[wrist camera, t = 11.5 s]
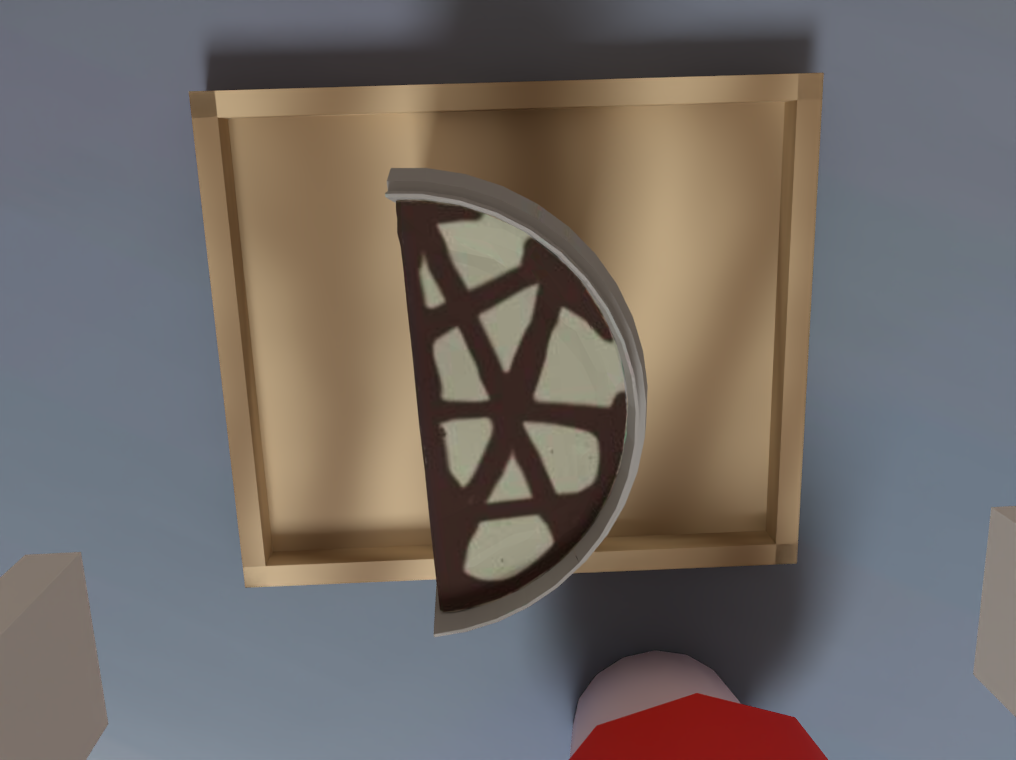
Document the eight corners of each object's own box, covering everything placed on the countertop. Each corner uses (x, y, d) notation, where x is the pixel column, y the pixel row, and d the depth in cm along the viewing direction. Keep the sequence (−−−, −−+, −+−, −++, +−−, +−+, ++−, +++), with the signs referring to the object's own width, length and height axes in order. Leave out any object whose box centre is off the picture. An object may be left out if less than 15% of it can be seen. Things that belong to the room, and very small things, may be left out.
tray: (257, 565, 34) (245, 587, 32) (205, 95, 30) (189, 91, 28) (780, 542, 34) (796, 563, 33) (803, 77, 30) (823, 72, 28)
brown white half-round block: (614, 492, 33) (671, 635, 23) (447, 507, 33) (435, 655, 23) (596, 148, 30) (653, 147, 20) (412, 163, 30) (381, 169, 20)
